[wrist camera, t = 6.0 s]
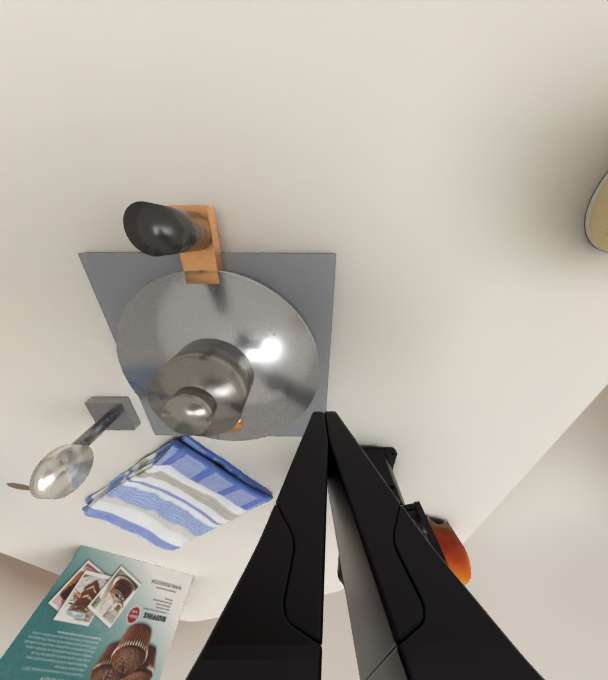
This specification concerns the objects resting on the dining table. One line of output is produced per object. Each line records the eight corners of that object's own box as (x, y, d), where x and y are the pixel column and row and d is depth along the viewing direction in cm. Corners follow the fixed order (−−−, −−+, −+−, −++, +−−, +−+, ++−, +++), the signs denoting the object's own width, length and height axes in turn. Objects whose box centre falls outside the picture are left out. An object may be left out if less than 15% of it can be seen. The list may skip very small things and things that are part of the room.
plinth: (323, 431, 26) (324, 437, 25) (159, 429, 26) (154, 436, 25) (334, 253, 17) (336, 254, 16) (87, 252, 17) (75, 253, 16)
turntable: (316, 432, 25) (318, 484, 19) (159, 431, 25) (121, 482, 20) (325, 208, 15) (335, 193, 10) (68, 207, 15) (-55, 193, 10)
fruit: (475, 522, 32) (493, 602, 28) (436, 514, 39) (446, 577, 34) (426, 514, 31) (437, 595, 27) (395, 507, 38) (400, 571, 34)
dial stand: (140, 423, 26) (64, 509, 18) (107, 422, 26) (15, 509, 18) (128, 397, 24) (38, 479, 16) (92, 396, 24) (-16, 479, 16)
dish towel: (88, 493, 33) (71, 514, 31) (182, 425, 27) (169, 445, 24) (180, 537, 39) (172, 558, 37) (276, 490, 32) (274, 511, 30)
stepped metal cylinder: (257, 402, 21) (242, 453, 16) (186, 401, 21) (149, 452, 16) (250, 338, 18) (229, 377, 13) (167, 337, 18) (115, 376, 13)
